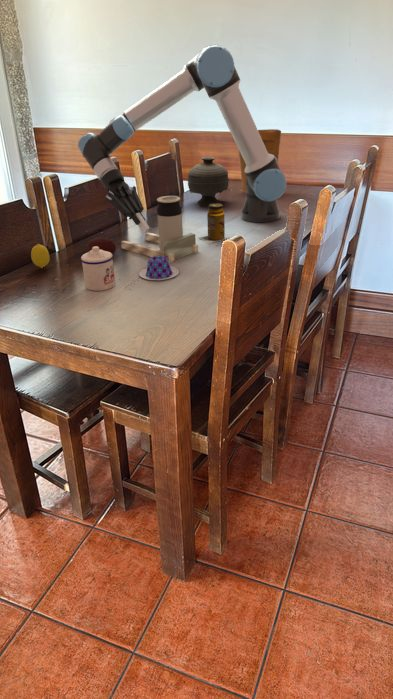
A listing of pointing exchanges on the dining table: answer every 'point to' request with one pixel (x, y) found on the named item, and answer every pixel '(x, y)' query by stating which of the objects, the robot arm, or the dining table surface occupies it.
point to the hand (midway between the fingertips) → (146, 230)
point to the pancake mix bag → (272, 146)
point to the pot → (208, 180)
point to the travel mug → (169, 219)
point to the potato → (102, 244)
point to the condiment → (215, 224)
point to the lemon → (40, 255)
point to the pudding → (158, 269)
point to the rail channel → (165, 247)
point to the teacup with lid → (98, 269)
